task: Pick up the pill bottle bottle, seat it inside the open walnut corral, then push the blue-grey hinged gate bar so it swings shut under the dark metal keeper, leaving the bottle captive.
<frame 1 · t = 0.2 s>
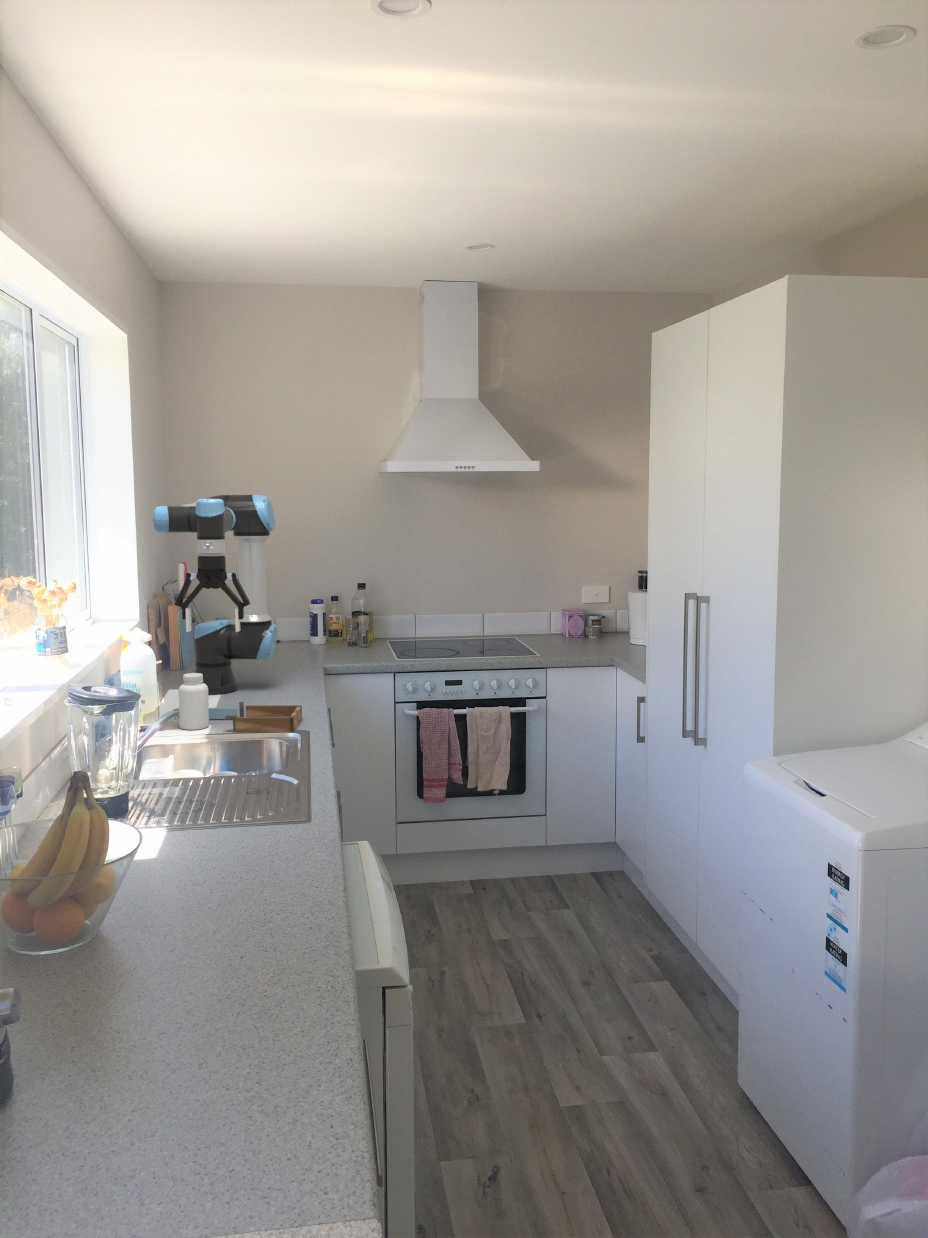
hand: (213, 631, 266), 27 cm above the counter, fingers open, 13 cm apart
pill bottle: (194, 728, 267), on the counter
corral: (269, 725, 269), on the counter
gate: (213, 713, 276), point 2 cm above the counter, hinge at -90.0°
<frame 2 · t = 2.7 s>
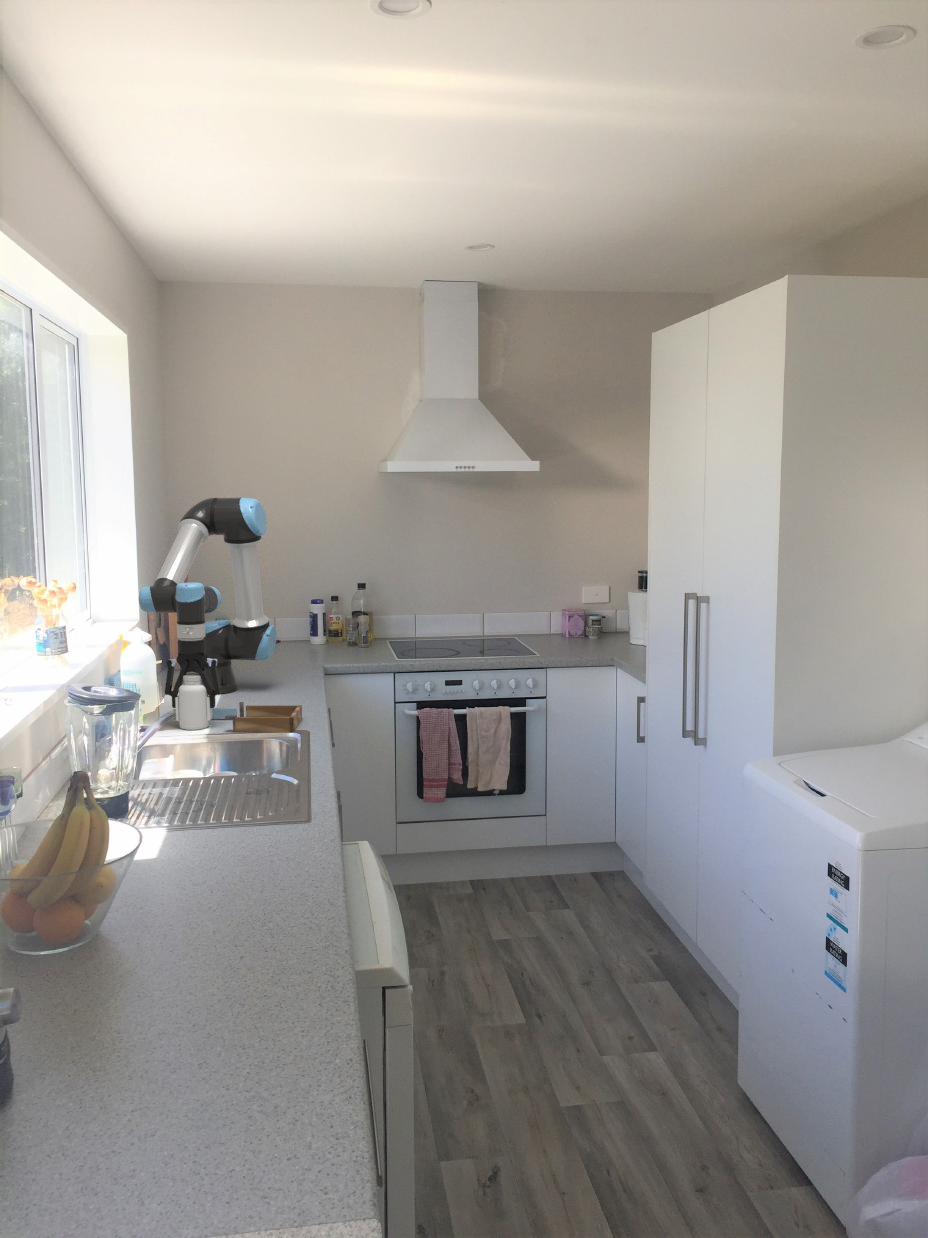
hand: (194, 719, 267), 2 cm above the counter, fingers closed on pill bottle, 8 cm apart
pill bottle: (194, 727, 267), on the counter, touching gripper
everything else where it was.
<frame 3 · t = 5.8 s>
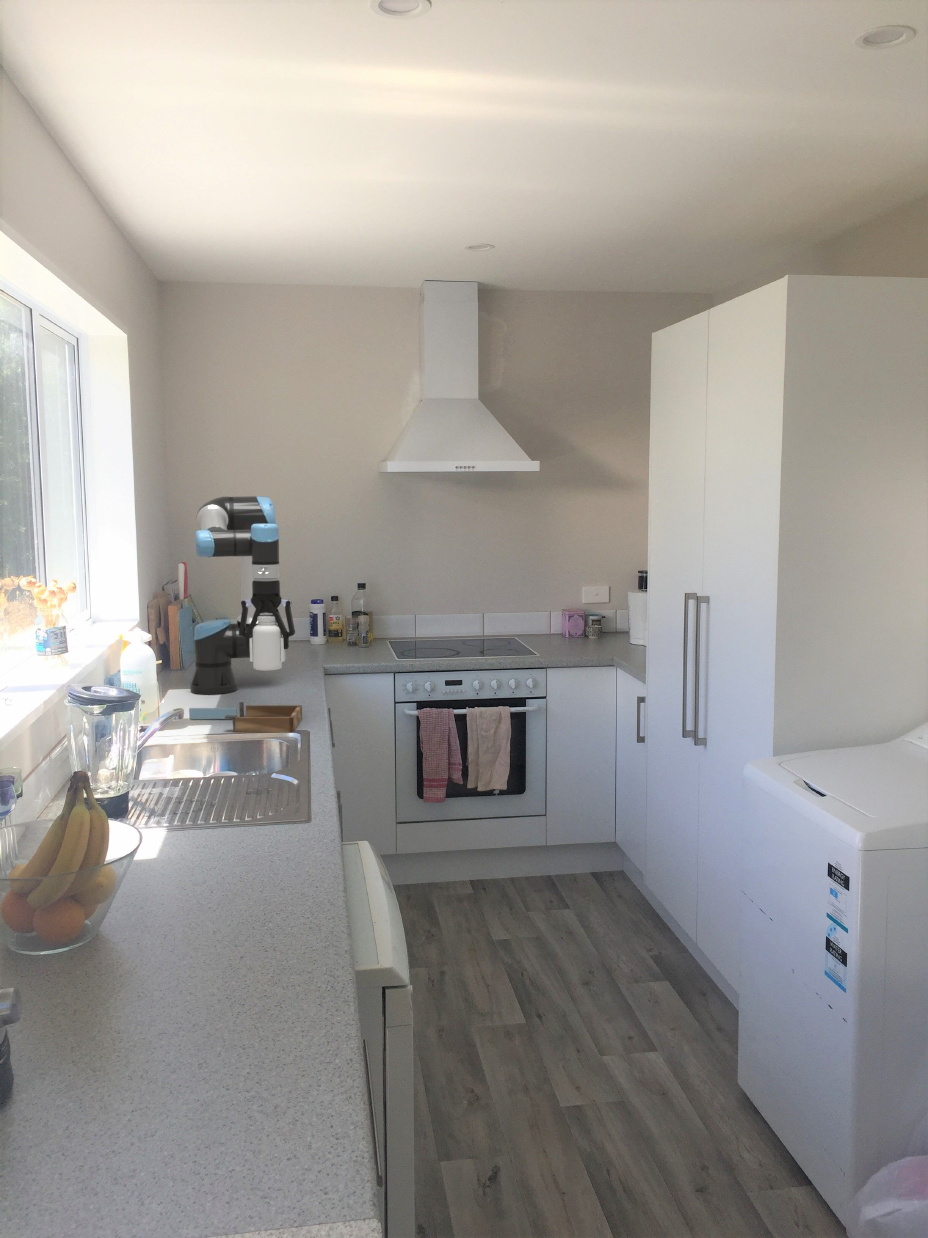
hand: (267, 660, 267), 19 cm above the counter, fingers closed on pill bottle, 8 cm apart
pill bottle: (267, 669, 267), point 16 cm above the counter, touching gripper
everything else where it was.
when the fingers open (4 cm above the counter, at t = 8.7 s): pill bottle drops 2 cm, on the counter.
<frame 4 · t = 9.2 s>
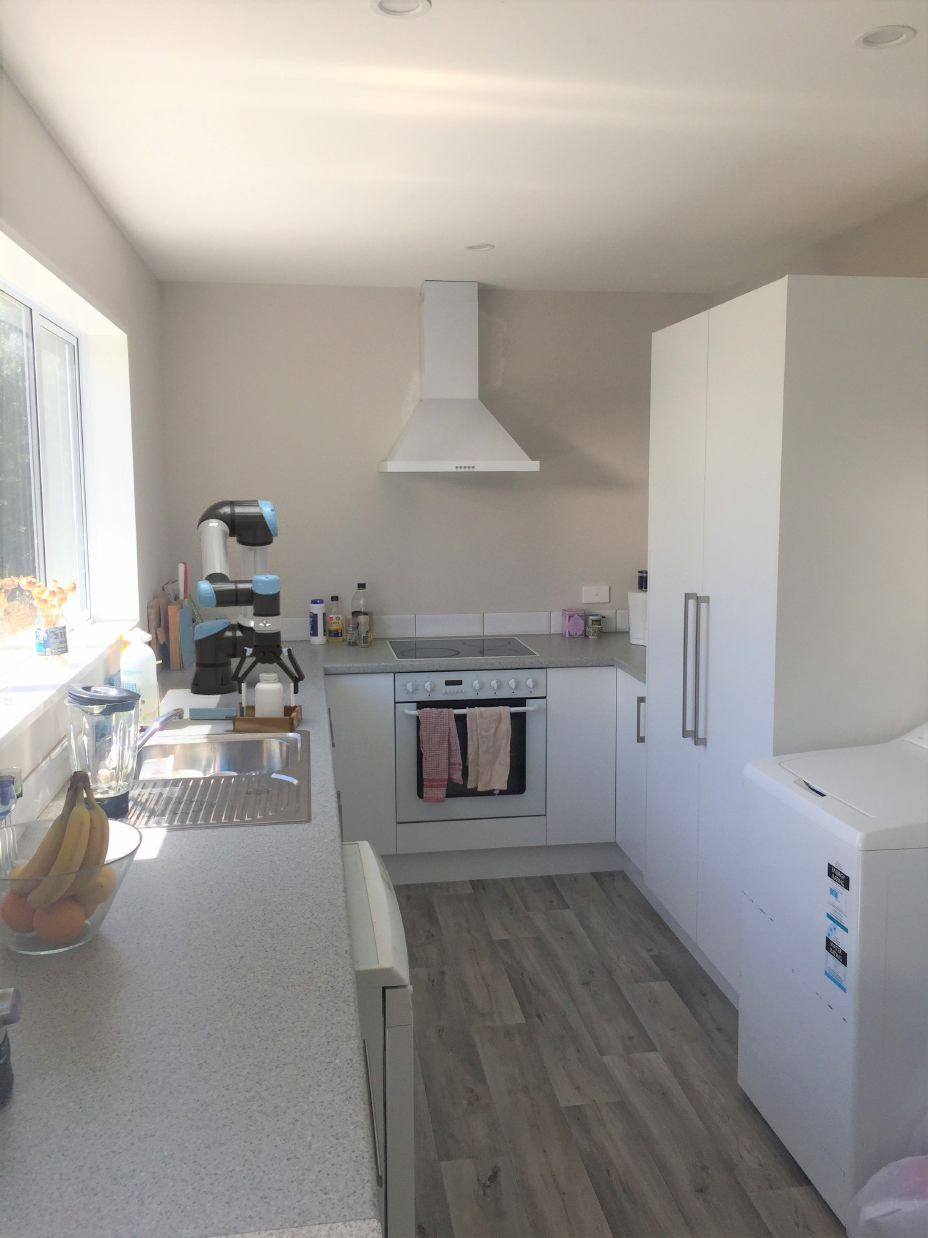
hand: (268, 705, 269), 6 cm above the counter, fingers open, 13 cm apart
pill bottle: (270, 726, 269), on the counter
everything else where it was.
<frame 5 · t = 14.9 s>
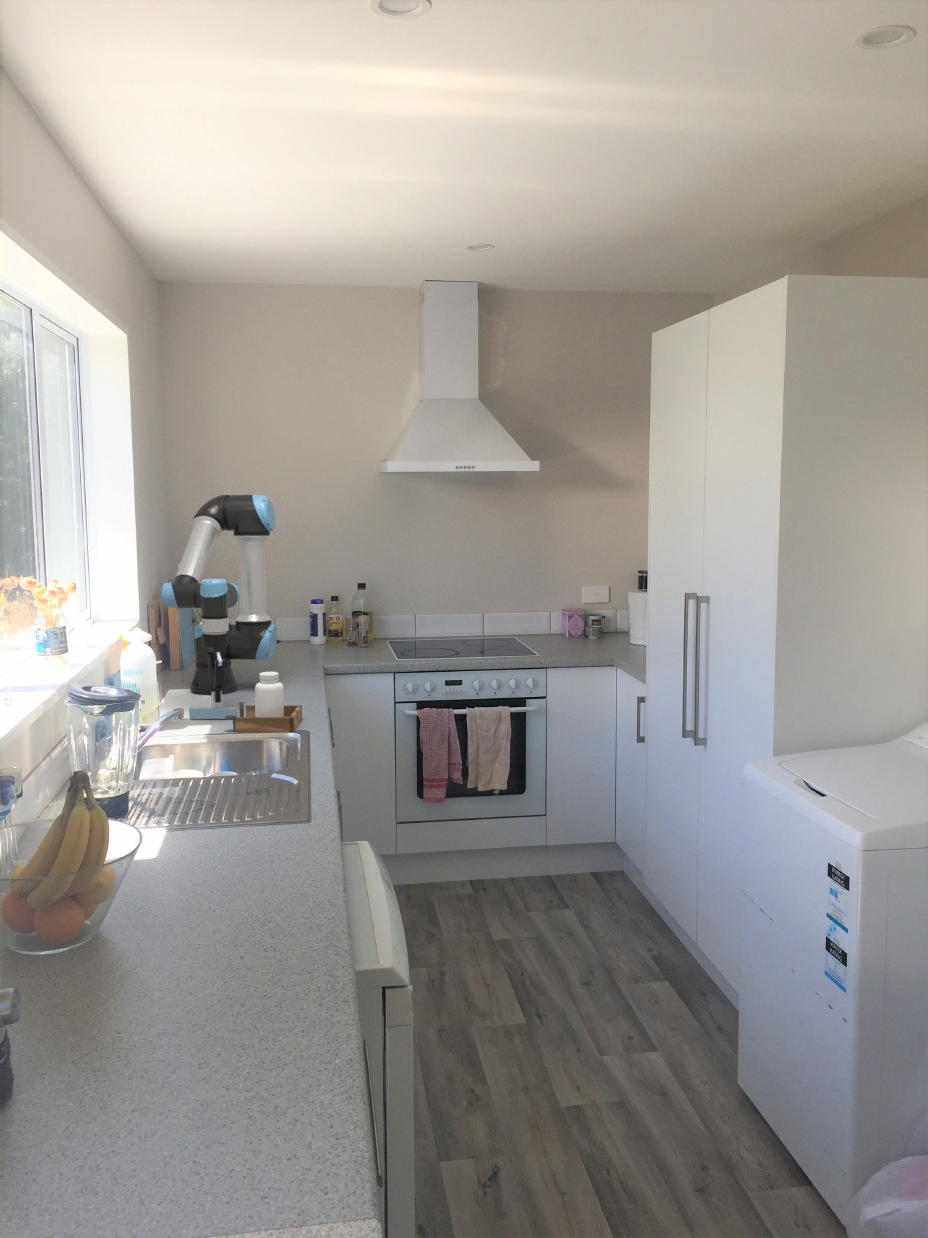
hand: (217, 712, 278), 2 cm above the counter, fingers closed
gate: (213, 713, 276), point 2 cm above the counter, hinge at -90.0°, touching gripper
everything else where it was.
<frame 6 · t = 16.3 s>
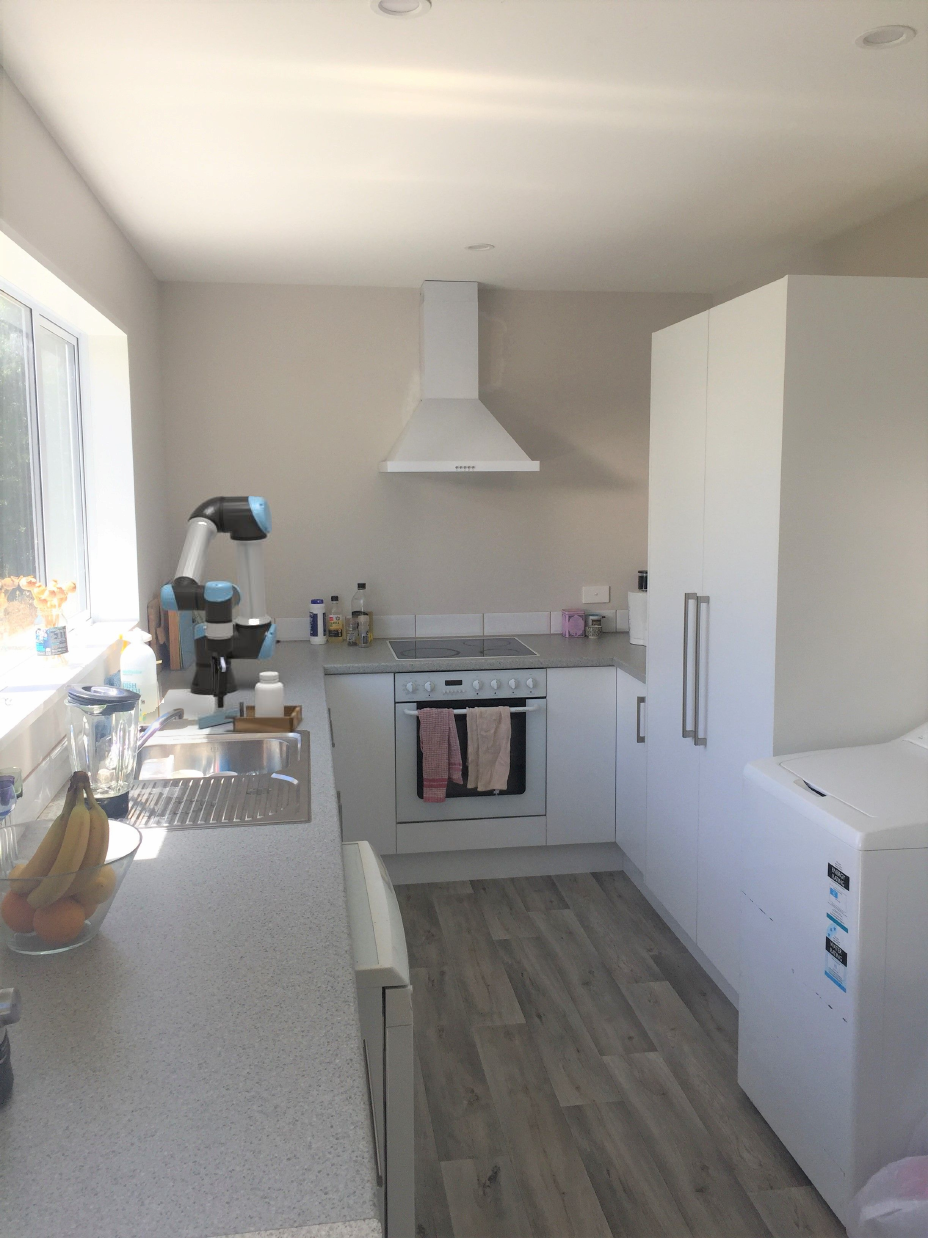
hand: (219, 718, 272), 1 cm above the counter, fingers closed
gate: (218, 718, 270), point 2 cm above the counter, hinge at -37.6°, touching gripper
everything else where it was.
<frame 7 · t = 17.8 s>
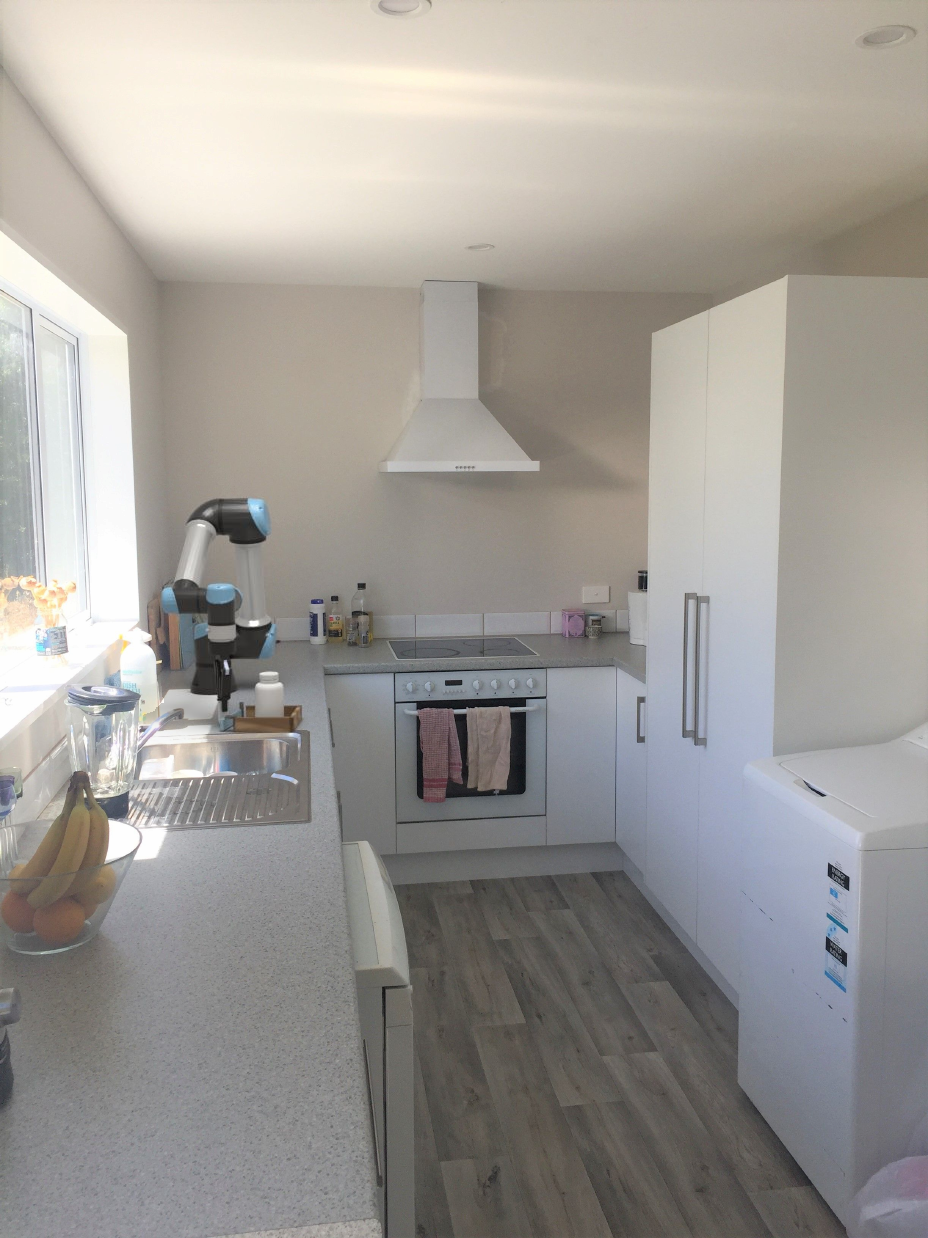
hand: (223, 722, 269), 1 cm above the counter, fingers closed
gate: (230, 719, 268), point 2 cm above the counter, hinge at -9.1°, touching gripper
everything else where it was.
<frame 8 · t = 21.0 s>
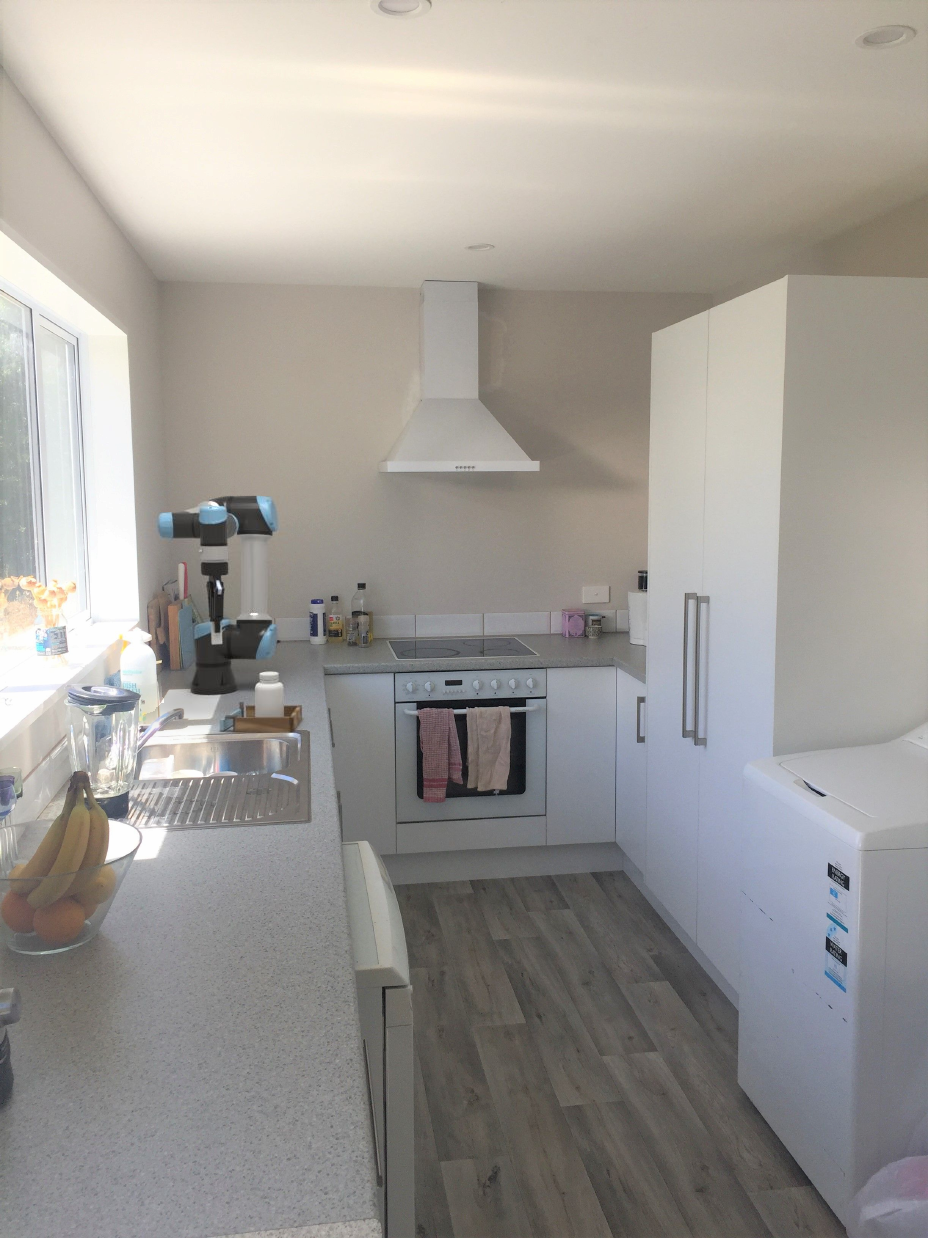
hand: (216, 643, 272), 22 cm above the counter, fingers closed
gate: (230, 719, 268), point 2 cm above the counter, hinge at -9.1°
everything else where it was.
at the end: pill bottle inside the target area on the corral (0.2 cm from its centre), point 0.0 cm above the corral's base; pill bottle tilted 0°; gate at -9° (first picture: -90°) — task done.
